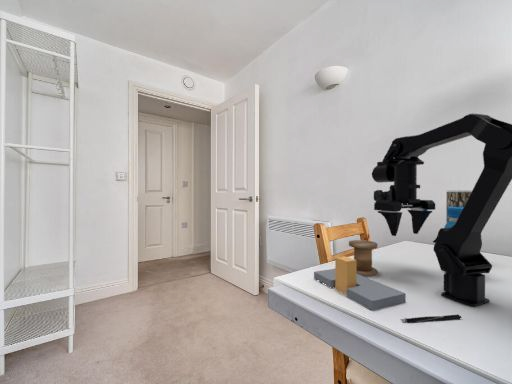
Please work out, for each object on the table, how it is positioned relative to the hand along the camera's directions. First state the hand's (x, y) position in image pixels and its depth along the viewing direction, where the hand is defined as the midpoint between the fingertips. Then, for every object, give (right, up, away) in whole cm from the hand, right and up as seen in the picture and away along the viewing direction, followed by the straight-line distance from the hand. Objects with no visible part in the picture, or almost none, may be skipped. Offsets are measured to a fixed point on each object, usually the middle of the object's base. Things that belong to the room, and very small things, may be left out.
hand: (404, 234), depth 72 cm
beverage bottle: (+17, -12, +1) cm, 21 cm away
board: (-19, -12, -10) cm, 24 cm away
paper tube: (+27, -12, +13) cm, 32 cm away
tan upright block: (-21, -12, -11) cm, 27 cm away
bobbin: (-11, -12, +3) cm, 17 cm away
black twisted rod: (-10, -13, -25) cm, 30 cm away
